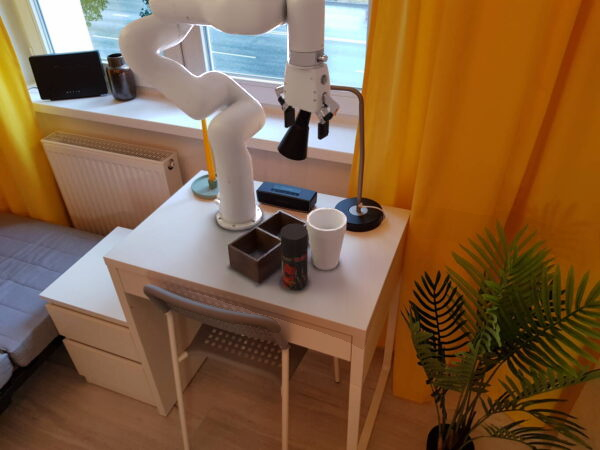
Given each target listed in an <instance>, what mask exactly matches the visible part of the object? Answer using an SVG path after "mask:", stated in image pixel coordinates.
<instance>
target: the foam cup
mask: <svg viewBox="0 0 600 450" xmlns="http://www.w3.org/2000/svg"><path fill="white" fill-rule="evenodd" d="M347 221H348V219H347V215H346V214H345V213H344V212H343V211H341V210H340V209H337V208H334V207H318V208H315V209H314V210H311V211H310V212H309V213H308V214H307V215H306V222H307V230H308V235H309V248H310V254H311V260H312V264H313V265H314V266H315V267H316V268H318V269H319V270H324V271H327V270H332V269H334V268H336V267H337V265H338V264H339V260H340V256H341V252H342V249H343V248H342V247H343V243H344V238H345V234H346V231H347V223H348V222H347Z"/></svg>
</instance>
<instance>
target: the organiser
mask: <svg viewBox="0 0 600 450" xmlns="http://www.w3.org/2000/svg"><path fill="white" fill-rule="evenodd" d="M288 224H301V225H303V226H305V227H306V228H307V221H305V220H303V219H300V218H298V217H296V216H295V215H292V214H290V213H289V212H286V211H284V210H282V209H278V210H277V211H275V212H274V213H273V214H271V215H270V216H268V217H267V218H266V219H263V221H260V222H259V223H258V224H257V225H255V226H253V227H251V228H250V229H249V230H247V231H246V232H245V233H243V234H242V235H240V236H238V237H237V238H236V239H234V240H233V241H232V242H230V243H228V244H227V252H228V262H229V268H230V269H232V270H234V271H236V272H237V273H239V274H241V275H242V276H244V277H246V278H247V279H249V280H251V281H253V282H254V283H256V284H257V285H260V284H262V283H263V282H264V281H265V280H267V279H269V277H271V276H272V275H273V274H274V273H276V272H277V271H278V270H279V269H281V268H282V257H281V237H278V236H279V235H281V233H280V232H281V229H282V228H283V227H284V226H286V225H288ZM307 231H308V230H307ZM308 246H310V242H309V235H308ZM256 251H259V252H261V253H263V255H262V256H260V257H259V258H255V257H253V256H251V255H253V254H254V253H255V252H256Z"/></svg>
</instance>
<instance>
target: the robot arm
mask: <svg viewBox="0 0 600 450" xmlns="http://www.w3.org/2000/svg"><path fill="white" fill-rule="evenodd" d="M148 5H149V10H150V12H151V14H149V15H146V16H142V17H139V18H136V19H135V20H132V21H130V22H129V23H127V24H126V25H125V26H124V27H122V28H121V30H120V32H119V35H118V39H117V40H118V41H117V42H118V48H119V51H120V54H121V56H122V59H123V60H124V62H125V64H126V65H127V66H128V68H129V69H130V71H132V72H133V73H134V74H135V75H136V76H138V77H139V78H141V79H142V80H144V81H145V82H146V83H148V84H149V85H151V86H152V87H153V88H155V89H156V90H157V91H159V92H160V93H161V95H163V96H164V97H165V98H166V99H168V100H169V101H170V102H171V103H172V104H174V106H176V107H177V108H178V109H179V110H180V111H182V112H183V113H184V114H185V115H186V116H188V117H189V118H190V119H192V120H195V121H202V120H205V119H207V118H208V117H211V116H212V115H214V114H215V113H217V112H218V111H219V110H220V112H218V113H217V114H216V115H215V116H214V117H213V118H212V119H211V120H210V121H209V124H208V126H207V138H208V142H209V144H210V147H211V149H212V150H211V151H212V153H213V154H212V155H213V159H214V165H215V171H216V179H217V187H218V193H217V194H216V198H215V199H213V204H215V205H217V206H218V211H217V213H216V222H217V223H218V225H219V226H221V227H222V228H224V229H226V230H230V231H245V230H248V229H249V230H250V229H252V228H254V227H255V226H256V225H258V224H259V223H261V220H262V218H263V213H262V210H261V207H259V206H258V205H257V204H256V195H255V193H256V192H255V182H254V180H255V179H254V168H253V166H254V165H253V158H252V155H251V153H250V152H249V150H248V148H247V143H248V142H249V140H251V139H252V138H253V137H254V136H255V135H256V134H258V133H259V132H260V131H261V130H262V129H263V128H264V126H265V124H266V120H267V117H266V112H265V109H264V107H263V106H262V105H261V103H260V102H259V101H258V100H257V99H256V98H255V97H253V95H251V94H250V93H249V92H248V91H247V90H246V89H245V88H243V87H242V86H241V85H240V84H239V83H238V82H236V81H235V80H234V79H233V78H232V77H230V76H229V75H228V74H226V73H224V72H222V71H218V70H209V71H206V72H203V73H202V74H200V75H195V74H193V73H192V72H190V71H189V70H188V69H187V68H186V67H185V66H184V65H182V64H181V63H179V62H178V61H176V60H175V59H172V58H170V57H167V56H164V55H162V54H161V53H162V52H164V51H166V50H168V49H170V48H173V47H176V46H177V45H178V44H180V43H181V42H182V41H183V40H184V39H185V38H186V37H187V36H188V34H189V32H190V31H191V30H192V28H193V27H194V26H205V27H212V28H213V29H214V30H217V31H218V32H221V33H222V34H228V35H235V36H251V37H252V36H253V37H254V36H255V37H256V36H262V35H265V34H267V33H270V32H271V31H273V30H275V29H277V28H279V27H283V26H285V25H286V28H287V30H286V31H287V34H286V35H287V60H286V63H285V68H284V76H283V85H281V86H279V87H276V88H274V92H275V94H276V97H277V102H278V103H279V104H280V106H281V110H282V112H283V122H284V123H283V124H284V125H283V126H284V128H285V129H289V128H290V127H293V126H294V125H296V109H299V110H302V111H305V112H308V113H312V114H315V115H316V117H317V119H318V121H319V122H318V123H317V139H318V140H320V141H321V140H323V139H325V138H327V137H328V136H329V133H330V121H331V120H332V119H333V118H334V117H336V116H337V113H338V112H339V110H340V108H341V106H340V105H339V103H338V102H337V101H336V100H334V99H333V98H332V97H331V79H330V73H329V67H328V64H327V62H328V59H329V57H328V55H325V28H326V27H325V26H326V25H325V21H326V20H325V19H326V18H325V17H326V0H148ZM295 108H296V109H295ZM328 108H329V109H328Z"/></svg>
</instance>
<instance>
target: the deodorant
mask: <svg viewBox="0 0 600 450" xmlns="http://www.w3.org/2000/svg"><path fill="white" fill-rule="evenodd" d="M280 239H281V257H282V267H281V274H282V276H281V278H282V286H283V287H284V288H285V289H286V290H288V291H293V292H297V291H301V290H304V289H305V288H306V287H307V285H308V283H309V282H308V278H309V277H308V276H309V275H308V274H309V273H308V272H309V269H308V265H309V264H308V261H309V259H308V251H309V249H308V247H309V245H308V231H307V228H306V227H305V226H303V225H301V224H288V225H286V226H284V227H283V228H282V229H281V232H280Z"/></svg>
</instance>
